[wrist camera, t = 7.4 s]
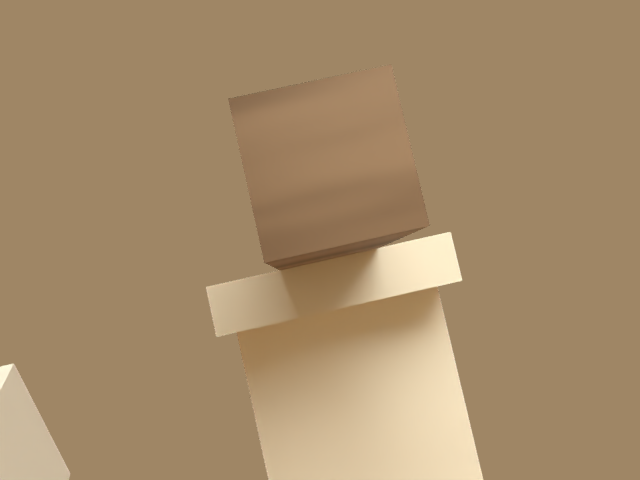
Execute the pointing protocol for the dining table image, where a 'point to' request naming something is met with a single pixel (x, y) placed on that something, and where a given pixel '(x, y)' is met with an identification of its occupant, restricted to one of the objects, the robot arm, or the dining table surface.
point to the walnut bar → (328, 167)
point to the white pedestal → (353, 365)
